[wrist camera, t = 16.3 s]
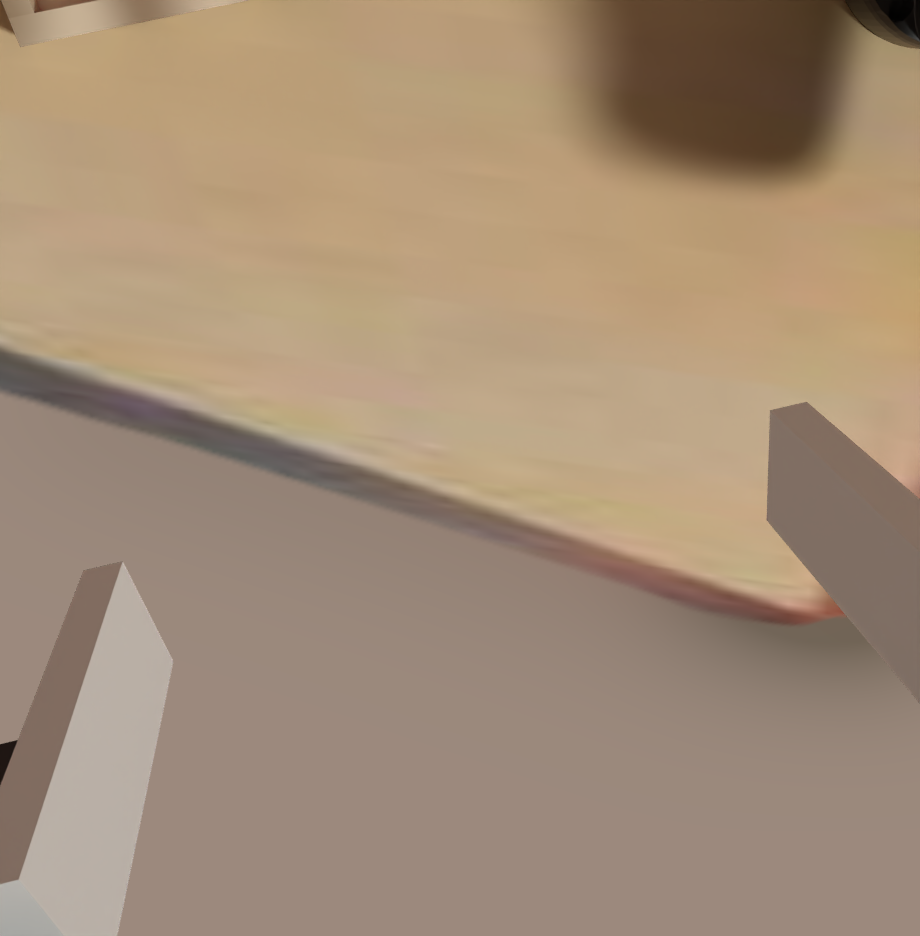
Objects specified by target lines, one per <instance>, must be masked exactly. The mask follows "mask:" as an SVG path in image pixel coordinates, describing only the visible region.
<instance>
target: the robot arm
mask: <svg viewBox="0 0 920 936" xmlns="http://www.w3.org/2000/svg"><path fill="white" fill-rule="evenodd" d="M845 1H846V3H847V4H848V6H849V8H850V9H851V11H852V12H853V13H854V15H855V16H856V17H857V18H858V20H859V21H860V22H861V23H862V24H863V25H864V26H865V27H867V28H868V29H869V30H870V31H871V32H873V33H874V34H876V35H877V36H879V37H880V38H882V39H884V40H886V41H888V42H891V43H893V44H896V45H900V46H904V47H909V48H917V49H920V0H845ZM767 521H768V522H769V524H770V525H771V526H772V527H773V528H774V530H775V531H776V532H777V533H778V534H779V536H780V537H781V538H782V539H783V540H784V541H785V543H786V544H787V545H788V546H789V547H790V549H791V550H792V551H793V552H794V553H795V555H796V556H797V557H798V558H799V559H800V561H801V562H802V563H803V564H804V565H805V567H806V568H807V569H808V570H809V571H810V573H811V574H812V575H813V576H814V577H815V579H816V580H817V581H818V582H819V583H820V585H821V586H822V587H823V588H824V589H825V591H826V592H827V593H828V594H829V595H830V597H831V598H832V599H833V600H834V601H835V603H836V604H837V605H838V606H839V607H840V609H841V610H842V611H843V612H844V613H845V615H846V616H847V617H848V618H849V619H850V621H851V622H852V623H853V624H854V625H855V627H856V628H857V629H858V630H859V631H860V632H861V634H862V635H863V636H864V637H865V639H866V640H867V641H868V642H869V643H870V644H871V645H872V647H873V648H874V649H875V650H876V651H877V653H878V654H879V655H880V656H881V657H882V659H883V660H884V661H885V662H886V664H887V665H888V666H889V667H890V668H891V670H892V671H893V672H894V673H895V674H896V676H897V677H898V678H899V679H900V680H901V682H902V683H903V684H904V685H905V686H906V687H907V689H908V690H909V691H910V692H911V693H912V695H913V696H914V697H915V698H916V700H917V701H918V702H919V703H920V499H919V498H918V497H917V496H915V495H914V494H913V493H912V492H911V491H910V490H908V489H907V488H906V487H905V486H904V485H903V484H901V483H900V482H899V481H898V480H897V479H896V478H894V477H893V476H892V475H891V474H890V473H889V472H887V471H886V470H885V469H884V468H883V467H882V466H881V465H879V464H878V463H877V462H876V461H875V460H874V459H872V458H871V457H870V456H869V455H868V454H867V453H865V452H864V451H863V450H862V449H861V448H860V447H858V446H857V445H856V444H855V443H854V442H853V441H851V440H850V439H849V438H848V437H847V436H846V435H845V434H843V433H842V432H841V431H840V430H839V429H838V428H836V427H835V426H834V425H833V424H832V423H831V422H829V421H828V420H827V419H826V418H825V417H824V416H822V415H821V414H820V413H819V412H818V411H817V410H815V409H814V408H813V407H812V406H811V405H810V404H809V403H807V402H804V403H800V404H795V405H791V406H787V407H783V408H778V409H774V410H770V430H769V462H768V494H767ZM172 665H173V660H172V658H171V656H170V654H169V652H168V650H167V648H166V646H165V644H164V642H163V640H162V638H161V636H160V634H159V632H158V630H157V629H156V626H155V624H154V622H153V620H152V618H151V616H150V614H149V612H148V610H147V609H146V607H145V605H144V603H143V601H142V599H141V597H140V595H139V593H138V591H137V589H136V587H135V585H134V583H133V581H132V579H131V577H130V575H129V573H128V571H127V569H126V567H125V565H124V563H123V561H122V562H117V563H113V564H109V565H104V566H100V567H96V568H92V569H87V570H84V571H83V574H82V576H81V578H80V581H79V584H78V586H77V589H76V591H75V594H74V597H73V599H72V602H71V604H70V607H69V610H68V612H67V615H66V617H65V620H64V622H63V625H62V628H61V630H60V633H59V635H58V638H57V640H56V643H55V646H54V648H53V651H52V653H51V656H50V659H49V661H48V664H47V666H46V669H45V671H44V674H43V677H42V679H41V682H40V684H39V687H38V690H37V692H36V695H35V697H34V700H33V703H32V705H31V707H30V710H29V713H28V715H27V718H26V721H25V723H24V726H23V728H22V731H21V734H20V736H19V739H18V740H16V741H12V742H8V743H4V744H0V936H117V934H118V928H119V924H120V919H121V914H122V909H123V905H124V900H125V895H126V890H127V884H128V880H129V875H130V870H131V865H132V861H133V856H134V851H135V846H136V841H137V836H138V831H139V826H140V822H141V816H142V812H143V806H144V802H145V797H146V792H147V787H148V782H149V778H150V773H151V768H152V763H153V758H154V753H155V748H156V743H157V738H158V734H159V729H160V724H161V719H162V714H163V709H164V704H165V699H166V695H167V690H168V685H169V680H170V675H171V669H172Z"/></svg>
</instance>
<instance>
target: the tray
mask: <svg viewBox="0 0 920 936" xmlns="http://www.w3.org/2000/svg"><path fill="white" fill-rule="evenodd" d="M1 1H2V4H3V6H4V9H5V11H6V14H7V16H8V18H9V21H10V23H11V26H12V28H13V31H14V33H15V36H16V38H17V40H18V43H19V45H20V47H23V46H28V45H32V44H37V43H42V42H47V41H52V40H57V39H62V38H67V37H72V36H76V35H81V34H86V33H91V32H96V31H101V30H106V29H111V28H116V27H120V26H125V25H130V24H135V23H140V22H145V21H150V20H155V19H160V18H164V17H169V16H174V15H179V14H184V13H189V12H194V11H199V10H204V9H208V8H213V7H218V6H223V5H228V4H233V3H238V2H243V1H248V0H1Z"/></svg>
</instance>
